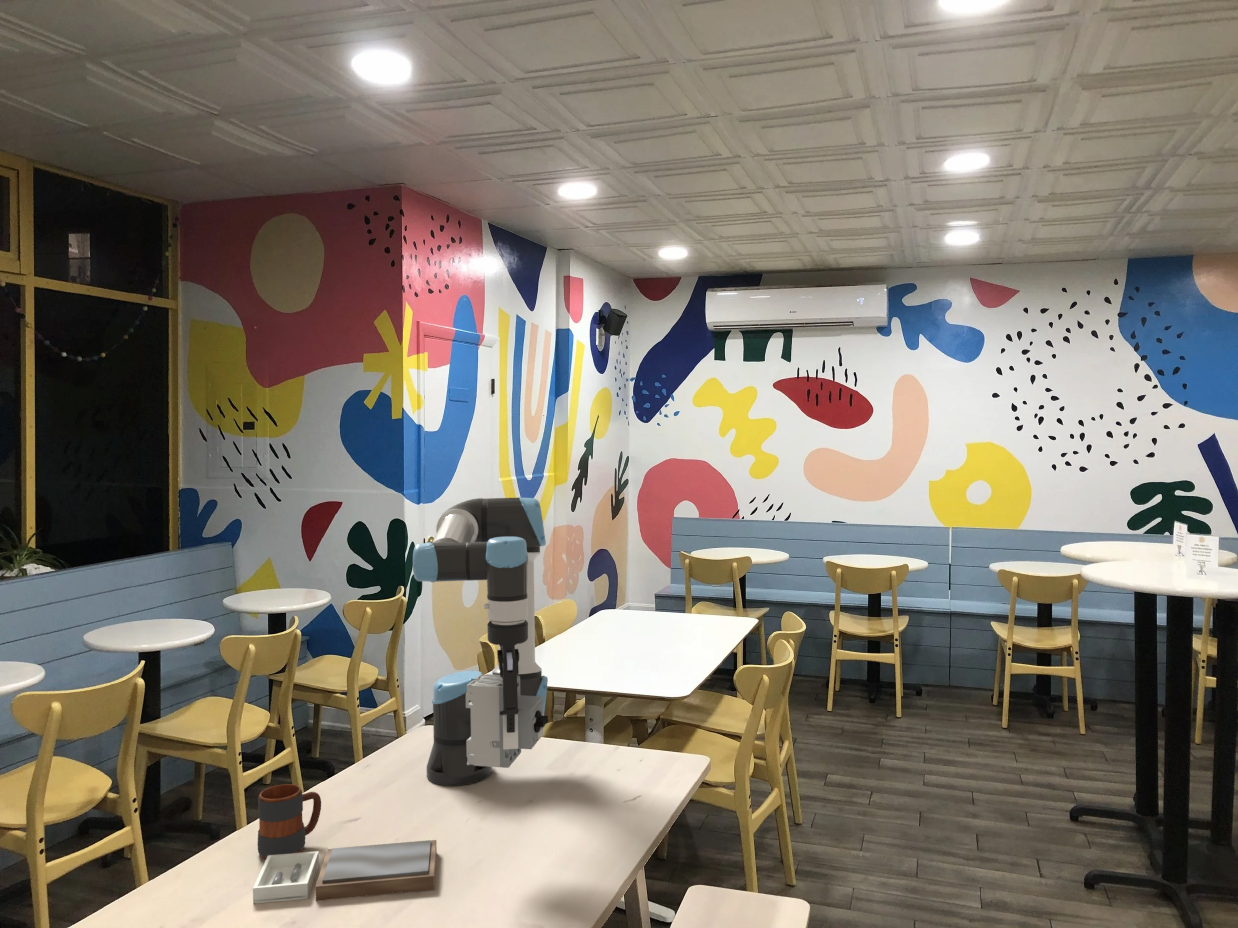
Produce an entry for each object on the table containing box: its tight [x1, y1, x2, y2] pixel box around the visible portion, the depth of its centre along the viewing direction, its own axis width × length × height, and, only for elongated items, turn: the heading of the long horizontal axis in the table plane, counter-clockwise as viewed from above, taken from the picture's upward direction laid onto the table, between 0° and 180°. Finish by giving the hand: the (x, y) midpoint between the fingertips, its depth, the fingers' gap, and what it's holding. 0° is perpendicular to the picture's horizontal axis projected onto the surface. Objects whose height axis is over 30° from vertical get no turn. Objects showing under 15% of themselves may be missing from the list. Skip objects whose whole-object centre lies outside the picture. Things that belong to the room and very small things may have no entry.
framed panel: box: [315, 839, 438, 902], centre depth 164 cm, size 14×20×3 cm
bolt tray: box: [252, 850, 320, 904], centre depth 161 cm, size 12×9×3 cm
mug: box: [257, 783, 322, 860], centre depth 175 cm, size 9×12×12 cm
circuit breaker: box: [466, 673, 549, 769], centre depth 169 cm, size 8×14×15 cm, turn 79°
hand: (509, 738), depth 169 cm, fingers closed on circuit breaker, 9 cm apart
